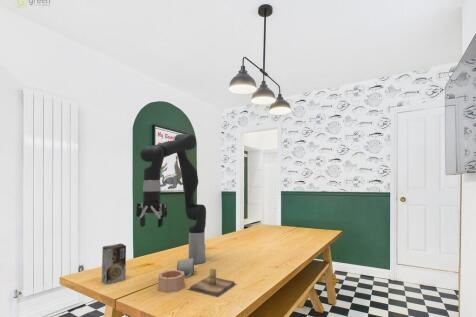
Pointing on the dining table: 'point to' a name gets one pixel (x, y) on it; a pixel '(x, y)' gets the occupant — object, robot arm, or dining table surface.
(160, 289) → the bowl
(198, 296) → the dining table surface
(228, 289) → the mat
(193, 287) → the lid
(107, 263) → the coffee box
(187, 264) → the ceramic mug
